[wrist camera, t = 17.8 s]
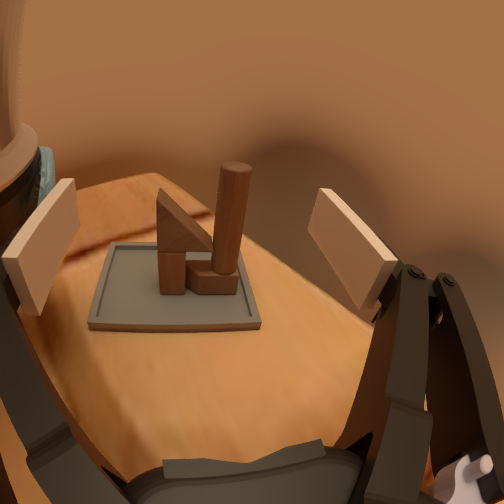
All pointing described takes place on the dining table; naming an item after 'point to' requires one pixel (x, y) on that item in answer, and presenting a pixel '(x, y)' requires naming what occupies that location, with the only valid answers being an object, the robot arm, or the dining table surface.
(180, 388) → the dining table surface
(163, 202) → the wooden block
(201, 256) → the slate tray
